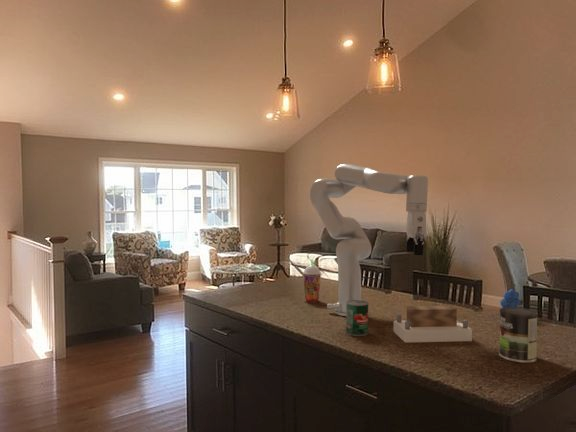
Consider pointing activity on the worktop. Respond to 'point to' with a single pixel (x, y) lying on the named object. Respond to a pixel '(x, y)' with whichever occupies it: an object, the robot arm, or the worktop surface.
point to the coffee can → (518, 334)
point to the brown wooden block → (432, 316)
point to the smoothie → (312, 282)
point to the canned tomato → (357, 317)
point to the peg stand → (432, 332)
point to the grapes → (510, 299)
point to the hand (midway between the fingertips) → (414, 253)
